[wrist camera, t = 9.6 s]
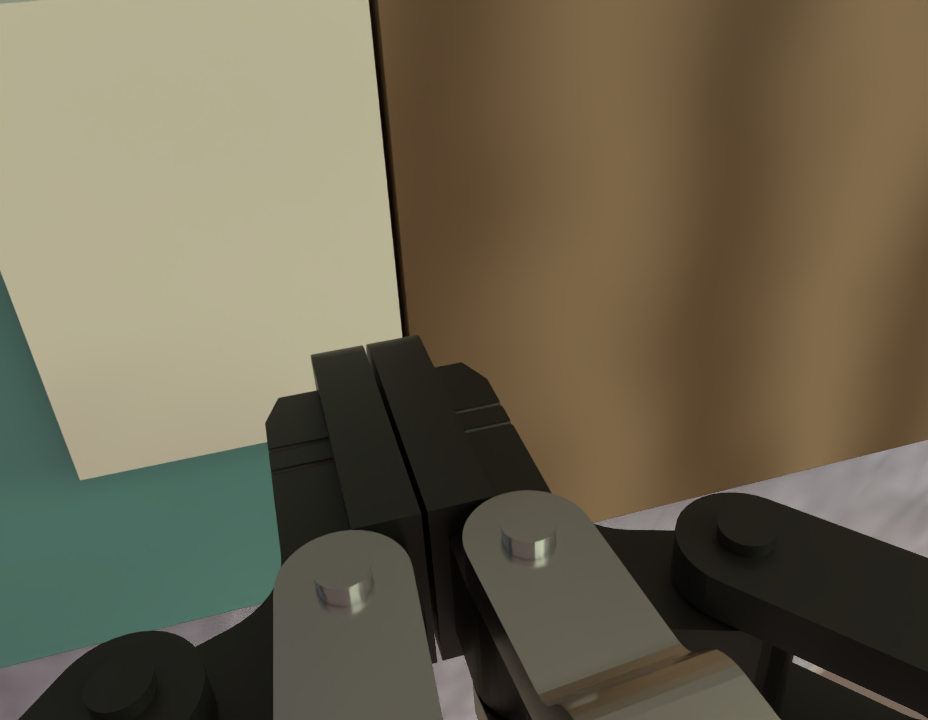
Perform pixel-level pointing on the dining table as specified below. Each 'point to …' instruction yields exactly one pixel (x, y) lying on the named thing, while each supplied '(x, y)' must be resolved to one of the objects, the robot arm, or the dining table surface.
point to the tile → (189, 212)
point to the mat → (117, 529)
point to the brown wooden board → (666, 229)
